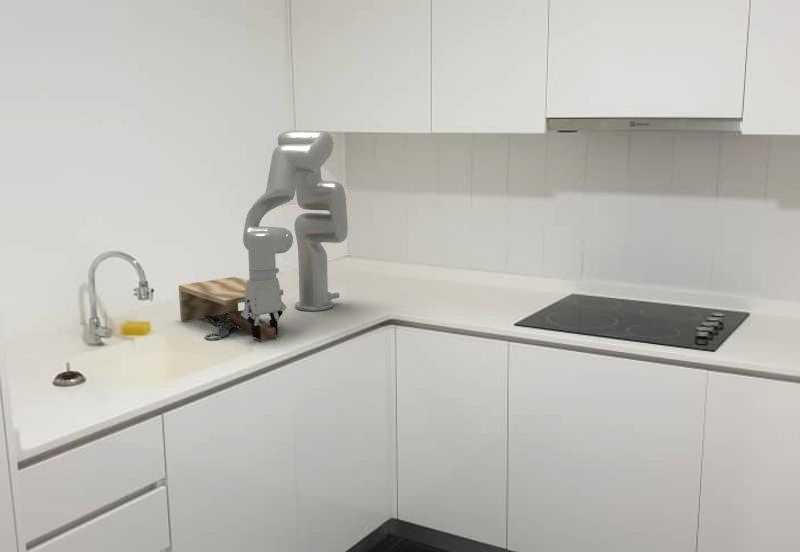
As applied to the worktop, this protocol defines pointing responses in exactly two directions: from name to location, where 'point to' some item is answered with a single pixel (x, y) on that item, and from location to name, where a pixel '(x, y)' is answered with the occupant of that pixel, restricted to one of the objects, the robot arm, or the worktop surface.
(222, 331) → the grey crescent piece
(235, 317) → the batten
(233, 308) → the riser
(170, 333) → the worktop surface
